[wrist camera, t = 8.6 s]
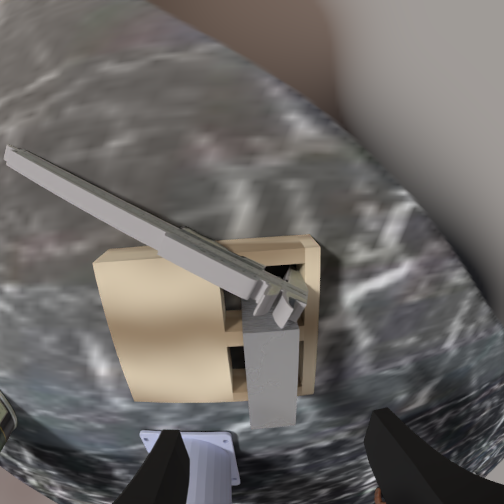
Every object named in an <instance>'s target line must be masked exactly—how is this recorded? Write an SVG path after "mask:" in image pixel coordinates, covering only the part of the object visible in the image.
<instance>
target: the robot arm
mask: <svg viewBox="0 0 504 504" xmlns="http://www.w3.org/2000/svg"><path fill="white" fill-rule="evenodd" d="M140 437H141V439H142V441H143V443H144V445H145V447H146V449H147V451H148V453H149V455H148V456H147V458H146V460H145V461H144V463H143V464H142V466H141V467H140V469H139V470H138V472H137V473H136V475H135V476H134V478H133V479H132V480H131V482H130V483H129V484H128V485H127V487H126V488H125V489H124V491H123V492H122V493H121V494H120V495H119V497H118V498H117V499H116V500H115V501H114V502H113V503H112V504H232V489H231V485H239V484H240V477H239V472H238V467H237V462H236V456H235V451H234V446H233V440H232V435H231V433H229V432H180V430H162V431H150V430H142V431H141V432H140ZM364 445H365V449H366V453H367V457H368V460H369V464H370V466H371V468H372V471H373V473H374V476H375V478H376V480H377V483H378V485H379V488H380V490H381V492H382V495H383V497H384V499H385V502H386V504H504V485H502V484H499V483H496V482H493V481H490V480H487V479H485V478H483V477H480V476H478V475H476V474H474V473H471V472H469V471H467V470H465V469H464V468H462V467H460V466H458V465H457V464H455V463H453V462H452V461H450V460H449V459H447V458H446V457H444V456H443V455H441V454H440V453H439V452H437V451H436V450H435V449H433V448H432V447H431V446H429V445H428V444H427V443H426V442H425V441H423V440H422V439H421V438H420V437H419V436H418V435H416V434H415V433H414V432H413V431H412V430H411V429H410V428H409V427H408V426H406V425H405V424H404V423H403V422H402V421H401V420H400V419H399V418H398V417H397V416H396V415H395V414H394V413H393V412H392V411H391V410H390V409H389V408H383V409H378V410H374V411H373V412H372V416H371V419H370V423H369V426H368V429H367V432H366V436H365V439H364Z"/></svg>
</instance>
